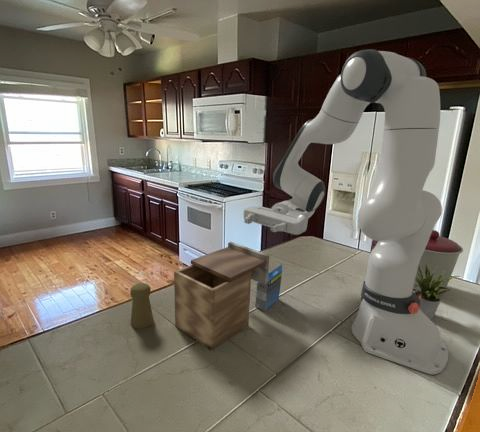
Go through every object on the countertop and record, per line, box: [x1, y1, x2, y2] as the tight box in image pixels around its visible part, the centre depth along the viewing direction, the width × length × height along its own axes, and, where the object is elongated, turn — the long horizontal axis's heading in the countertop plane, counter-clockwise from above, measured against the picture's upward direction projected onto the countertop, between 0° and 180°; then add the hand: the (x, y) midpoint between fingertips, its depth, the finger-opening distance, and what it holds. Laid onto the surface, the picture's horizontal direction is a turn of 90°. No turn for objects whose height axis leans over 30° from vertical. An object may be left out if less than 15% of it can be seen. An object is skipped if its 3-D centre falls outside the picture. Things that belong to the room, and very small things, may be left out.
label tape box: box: [254, 263, 283, 312], centre depth 95 cm, size 9×4×12 cm, turn 146°
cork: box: [129, 282, 154, 330], centre depth 84 cm, size 6×6×11 cm
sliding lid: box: [190, 241, 270, 285], centre depth 86 cm, size 14×16×9 cm
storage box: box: [173, 264, 252, 351], centre depth 83 cm, size 14×14×16 cm
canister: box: [413, 229, 464, 294], centre depth 109 cm, size 18×18×21 cm
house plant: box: [413, 263, 460, 320], centre depth 93 cm, size 14×14×16 cm
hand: (258, 224), depth 92 cm, fingers open, 8 cm apart
